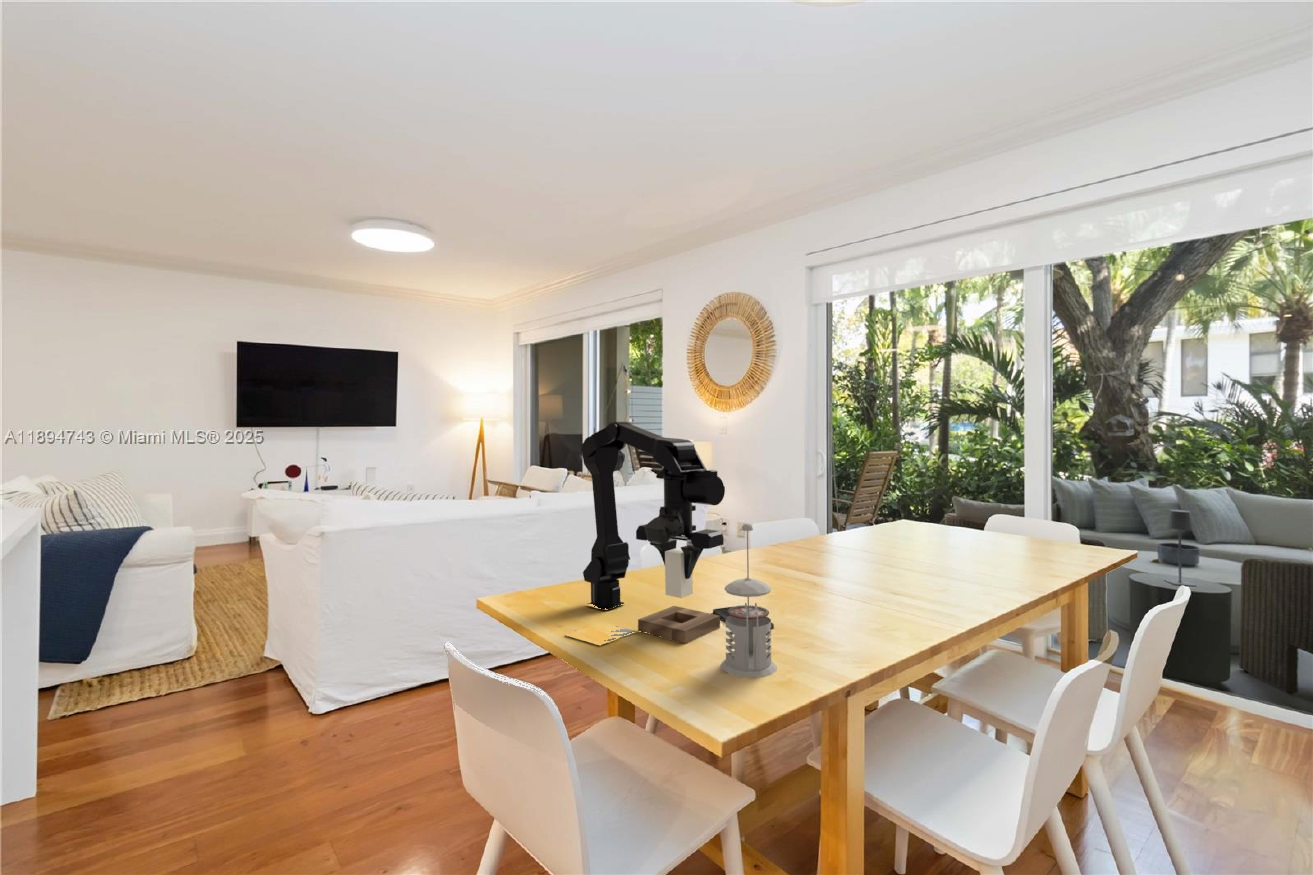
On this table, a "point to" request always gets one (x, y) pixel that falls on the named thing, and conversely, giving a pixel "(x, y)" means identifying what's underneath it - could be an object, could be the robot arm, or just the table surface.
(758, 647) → the french press
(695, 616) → the walnut square frame
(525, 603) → the table surface
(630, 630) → the grey mat
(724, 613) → the phone
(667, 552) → the cream block
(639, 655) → the table surface
